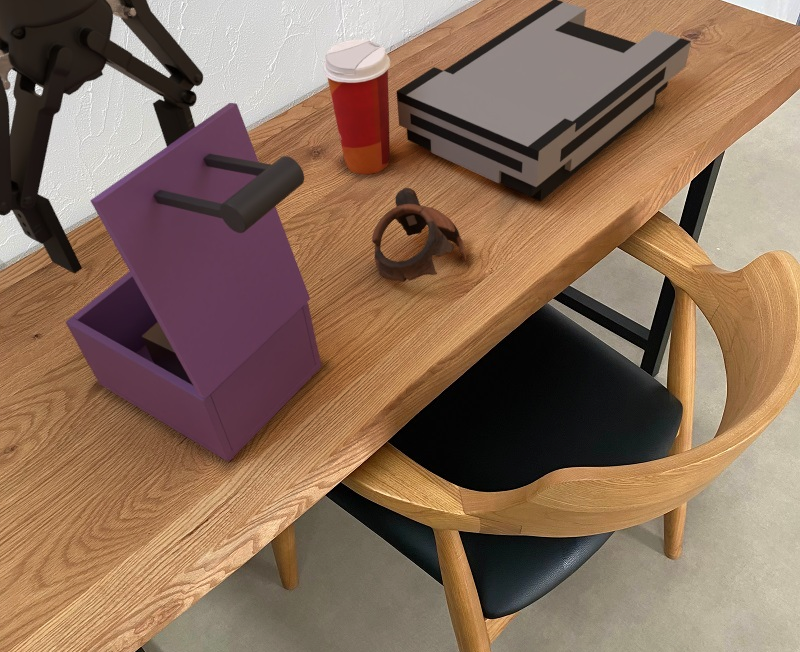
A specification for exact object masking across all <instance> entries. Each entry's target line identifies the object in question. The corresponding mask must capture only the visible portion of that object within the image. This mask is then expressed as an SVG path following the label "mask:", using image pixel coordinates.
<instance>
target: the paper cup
mask: <svg viewBox="0 0 800 652" xmlns="http://www.w3.org/2000/svg"><path fill="white" fill-rule="evenodd" d="M390 66H391V59H390V57H389V55H388V54H387V52H386V49H385V47H384V46H383V45H382V46H381V45H380V44H378V43H376V42H374V41H372V40H370V39H364V38H363V39H362V38H361V39H360V38H359V39H357V38H356V39H349V40H345V41H341V42H339V43H337V44H335V45H333V46H332V47H329V49H328V50H327V52H326V54H325V60H324V63H323V65H322V71H323V73H324V74H325V76H326V78H327V82H328V86H329V93H330V96H331V97H330V98H331V102H332V107H333V111H334V115H335V116H334V117H335V121H336V126H337V131H338V136H339V140H340V145H341V149H342V153H343V158H344V162H345V165H346V167H347V169H348V170H349V171H350V172H352V173H354V174H359V175H372V174H376V173H378V172H381V171H383V170H384V169H386V168H387V166H388V165H389V163H390V155H391V152H390V151H391V149H390V146H391V145H390V144H391V143H390V142H391V141H390V104H389V103H390V100H389V98H390V97H389V68H390Z"/></svg>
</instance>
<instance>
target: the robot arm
mask: <svg viewBox="0 0 800 652" xmlns="http://www.w3.org/2000/svg"><path fill="white" fill-rule="evenodd" d="M114 16H115V17H118V18H120V19H121V21H122V22H123V23H124V24H125V25H126V26H127V27H128V29H129V30H130V31H131V32H132V33H133V34H134V35H135V36H136V37H137V39H138V40H139V41H140V42H141V43H142V44H143V45H144V47H145V48H146V49H147V50H148V51H149V52H150V53H151V55H153V57H154V58H155V60H157V61H158V62H159V63H160V64H161V66H162V67H163V68H164V70H166V72H168V73H169V77H168V76H167V75H166V74H163V73H162V72H160V71H159V70H157V69H156V68H154V67H152V66H150V65H149V64H147V62H144V61H142V60H141V59H139V58H138V57H136V56H134V55H133V53H132V52H130V51H129V50H127V49H125V48H124V47H122V46H120V45H119V44H118V43H116V42H114V41H112V40H111V35H112V28H113V23H114ZM106 65H107V66H109V67H111V68H112V69H114V70H116V71H117V72H119V73H121V74H122V75H124V76H126V77H127V78H129V79H131V80H132V81H135V82H136V83H138V84H139V85H142V86H143V87H144V88H146V89H147V90H149V91H152V92H153V93H155V94H157V95H158V96H160V97H162V98H163V99H160V98H159V99H157V100H156V101H154V102H153V103H152V106H153V110H154V112H155V115H156V118H157V121H158V124H159V128H160V130H161V133H162V136H163V140H164V142H165V146H166V147H167V146H169V145H170V144H172V143H173V142H174V141H176V140H177V139H179V138H180V137H182V136H183V135H184V134H186V133H187V132H189V131H190V130H192V129H193V128H194V127H196V124H195V121H194V118H193V114H192V110H191V107H194V106H195V105H196V103H197V100H198V99H197V94H196V92H195V91H194V90H193V88H194V87H199V86H201V85H202V84H203V81H204V74H203V72H202V70H200V68H199V67H198V66H197V65H196V64H195V62H194V60H193V59H192V58H191V57H190V56H189V55H188V54H187V53H186V51H185V50H184V49H183V48H182V46H181V45H180V44H179V43H178V42H177V40H176V39H175V38H174V37H173V35H172V34H171V33H170V32H169V31H168V29H166V28H165V26H164V25H163V24H162V23H161V21H160V20H159V19H158V18H157V16H156V15H155V14H154V13H153V11H152V10H151V8H150V5H149V3H148V1H147V0H0V216H2V217H3V216H7V215H9V214H10V213H11V212H13V215H14V216H15V218H16V220H17V222H18V224H19V226H20V227H21V229H22V231H23V233H24V234H25V236H27V237H28V238H29V239H32V240H33V241H36V242H37V243H39V244H41V245H43V247H44V249H45V251H46V253H47V254H48V257H49V258H50V260H51V262H52V263H54V264H56V265H57V266H59V267H61V268H63V269H65V270H66V271H68V272H71V273H72V274H74V275H75V274H77V273H78V272H80V271H81V270H82V269H83V267H82V265H81V263H80V260H79V259H78V257H77V254H76V252H75V250H74V248H73V247H72V244H71V242H70V240H69V238H68V236H67V234H66V232H65V230H64V227H63V225H62V224H61V222H60V220H59V218H58V215H57V214H56V211H55V210H54V207H53V206H52V203H51V201H50V199H49V198H47V197H45V196H42V195H41V194H39V190H40V185H41V181H42V177H43V176H42V175H43V171H44V166H45V161H46V157H47V151H48V147H49V141H50V138H51V132H52V126H53V121H54V117H55V115H56V114H58V113H59V112H60V111H61V108H62V103H63V99H64V94H65V95H68V96H71V95H73V94H74V93H76V92H78V91H79V89H81V88H82V86H83V85H84V84H85V83H87V82H91V81H96V80H97V79H99V78H100V77H102V76H103V75H104V73H103V70H104V69H105V67H106ZM11 70H12V71H14V72H16V74H15V80H14V85H13V91H12V95H13V97H14V99H15V106H14V112H13V116H12V123H11V128H10V105H9V97H8V95H7V90H8V91H9V89H10V88H11V82H10V81H9V80H8V79H9V78H8V77H9V73H10V71H11ZM36 86H39V87H40V88H41V89H42V92H41V94H38V93H37V91H36Z"/></svg>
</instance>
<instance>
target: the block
mask: <svg viewBox="0 0 800 652" xmlns="http://www.w3.org/2000/svg"><path fill="white" fill-rule="evenodd" d="M142 338H143V341H144V343H145V345H146V347H147V349H148V352H149V354H150V356H151V358H152V360H153V362H154V364H156V365H158V366H159V367H161V368H163V369H165V370H166V371H168V372H170V373H172V374H174V375H175V376H177V377H179V378H181V379H182V380H184V381H186V382H188V383H189V384H191V385H193V384H192V382H191V380H190V379H189V377H188V375H187V373H186V371H185V370H184V368H183V366H182V364H181V362H180V361H179V359H178V357H177V355H176V353H175V352H174V350H173V348H172V346H171V344H170V343H169V341H168V339H167V337H166V336H165V334H164V332H163V330H162V328H161V327H160V325H159V323H158V322H157V323H156V324H155V325H153V326H152V327H151V328H150V329H149V330H148V331H147V332H146V333H145V334H143V335H142Z"/></svg>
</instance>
